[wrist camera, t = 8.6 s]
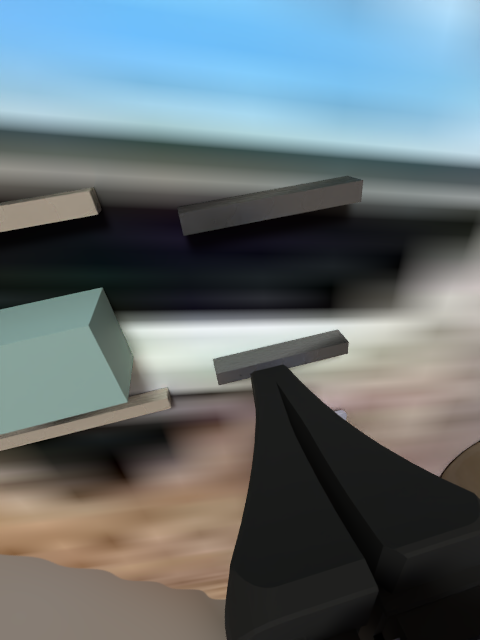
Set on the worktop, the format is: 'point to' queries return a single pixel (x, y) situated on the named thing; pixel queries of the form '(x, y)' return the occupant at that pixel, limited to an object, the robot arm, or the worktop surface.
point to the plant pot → (466, 470)
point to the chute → (192, 222)
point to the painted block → (61, 360)
